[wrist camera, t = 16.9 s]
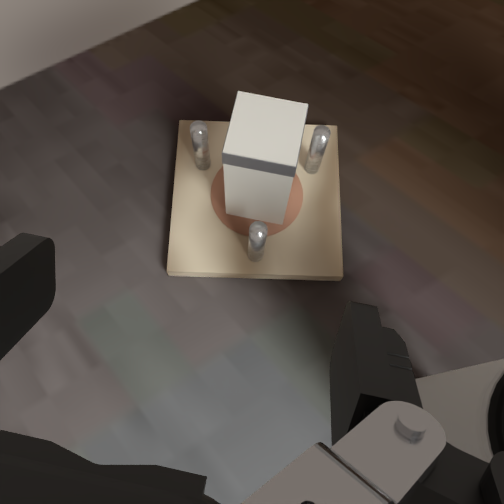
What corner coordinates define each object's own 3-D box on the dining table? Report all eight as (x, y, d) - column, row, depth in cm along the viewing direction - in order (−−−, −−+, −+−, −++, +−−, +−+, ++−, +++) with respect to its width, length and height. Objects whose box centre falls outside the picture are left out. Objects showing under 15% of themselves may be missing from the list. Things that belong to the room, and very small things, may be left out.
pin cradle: (334, 133, 41) (350, 86, 35) (339, 280, 37) (359, 254, 31) (181, 128, 41) (171, 79, 35) (168, 275, 36) (155, 248, 30)
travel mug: (348, 401, 34) (491, 377, 15) (432, 369, 35) (668, 309, 16) (385, 494, 32) (603, 603, 13) (473, 458, 33) (797, 511, 14)
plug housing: (293, 174, 38) (309, 103, 29) (282, 225, 36) (296, 167, 28) (237, 163, 38) (237, 90, 30) (225, 214, 37) (221, 152, 28)
